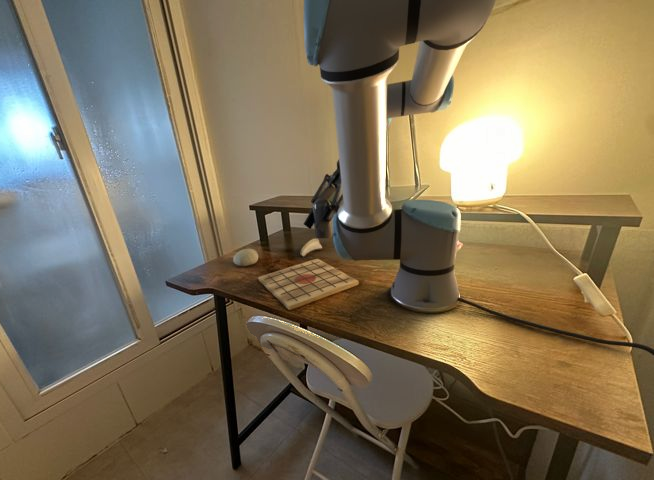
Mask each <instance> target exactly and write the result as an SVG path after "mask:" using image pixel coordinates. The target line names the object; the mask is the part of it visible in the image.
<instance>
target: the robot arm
mask: <svg viewBox="0 0 654 480" xmlns="http://www.w3.org/2000/svg"><path fill="white" fill-rule="evenodd" d="M496 1H497V0H303V41H304V50H305V54H306V59H307V63H308V65H310V66H313V67H318V66H319V72H320V77H321V78H320V79H321V81H322V82H323V83H325V84H326V85H327V86H329V87H330V88H331V91H332V102H333V111H334V121H335V131H336V140H337V141H336V142H337V151H338V160H337V162H336V169H335V171H333V172H332V174H329V173H326V174H325V175H324V177H323V180H322V182H321V184H320V185H319V187H318V189H317V190H316V192H315V194H314V195H313V196H312V198H311V200H310V202H311V203H312V204H313V205H314V203H315V201H316V200H318V199H320V198H324V199H327V200H328V201H329V199H330V198H331V196H332V195H333V194H334V196H333V198H332V200H331V202H330V204H331V205H328V206H329V207H330V208H331V209H330V208H328V207H327V209H326V210H325V212H324V214H323V215H322V217H321V219H320V220H319V222H318V224H317V226H316V227H315V228H317V229H318V230H319V231H320V232H322V233H323V232H324V230H325V228H326V227H327V225H328V223H329V222H330V221H331V220H332V232H333V235H332V240H333V246H334V249H335V251H336V255H338V257H339V258H340V259H342V260H345V261H355V262H357V261H358V262H359V261H399V267H398V270H397V273H396V275H395V278H394V280H393V283H392V284H391V289H390V298H391V300H392V301H393V302H394V303H395V304H396V305H397V306H399V307H401V308H403V309H405V310H409V311H412V312H417V313H423V314H439V313H443V312H444V313H445V312H447V311H450V310H453V309H454V308H456V307H457V306H458V305H459V302H461V303H464V304H466V305H469V306H471V307H474V308H476V309H478V310H480V311H483V312H486V313H488V314H491V315H494V316H497V317H499V318H502V319H505V320H509V321H512V322H516V323H519V324H523V325H526V326H530V327H535V328H536V329H537V328H538V329H542V330H545V331H548V332H553V333H556V334H559V335H564V336H568V337H572V338H577V339H580V340H585V341H588V342H594V343H598V344H603V345H608V346H618V347H628V348H635V349H640V350H643V351H646V352H648V353H650V354H651V355H652V356H654V348H652V347H650V346H648V345H645V344H641V343H638V342H629V341H619V340H609V339H603V338H598V337H595V336H589V335H585V334H581V333H580V334H579V333H576V332H572V331H569V330H564V329H559V328H557V327H556V328H555V327H551V326H547V325H544V324H539V323H535V322H532V321H528V320H526V319H522V318H517V317H515V316H511V315H508V314H505V313H502V312H498V311H495V310H493V309H490V308H487V307H485V306H483V305H480V304H477V303H475V302H473V301H470V300H468V299H464V298H462V297H461V294H460V288H459V285H458V280H457V277H456V273H455V266H456V259H457V252H458V251H457V245H458V241H459V237H460V232H461V230H462V228H461V219H462V215H461V211H460V209H459V208H458V207H457V206H455V205H454V204H451V203H448V202H445V201H441V200H435V199H434V200H433V199H412V200H410V199H409V200H407V201H404V202H403V203H402V204H401V208H396V209H395V208H393V205H392V203H391V202H390V200H388V198H386V171H387V170H386V167H387V162H386V161H387V130H388V129H389V127H390V125H391V122H392V120H393V118H399V117H406V116H414V115H421V114H428V113H436V112H439V111H444V110H447V109H448V108H449V107H450V106H451V103H452V101H453V97H454V90H455V89H454V87H455V78H454V75H453V74H454V72H455V70H456V68H457V66H458V64H459V62H460V59H461V58H462V55H463V53H464V51H465V49H466V48H467V46H468V44H469V43H470V42H471V41H472V40H473V39H475V38H476V36H478V35H479V34H480V32H481V31H482V29H483V28H484V27H485V25H486V22H487V21H488V19H489V17H490V15H491V13H492V11H493V9H494V7H495V4H496ZM415 43H418V46H417V50H416V51H417V52H416V56H415V63H414V67H413V72H412V75H411V76H412V77H411V79H410V80H404V81H398V82H393V83H388V76H389V75H390V74H391V73H392V71H393V70H394V69H395V68H396V67H397V65H398V64H399V59H400V47H403V46H408V45H411V44H415ZM303 225H304V226H305V227H306V228H308V229H309V230H311V229H313V226H314V216H313V207H312V208H311V209H310V211H309V213H308V215H307V216H306V218H305V220H304V222H303ZM315 228H314V229H315Z"/></svg>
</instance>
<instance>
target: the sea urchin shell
mask: <svg viewBox="0 0 654 480" xmlns="http://www.w3.org/2000/svg"><path fill="white" fill-rule="evenodd" d="M258 260H259V254H258V252H257V250H255V249H254V248H243V249H241V250H239V251H237V252H236V253H235V254H234V255H233V258H232V262H233V263H234V265H236V266H238V267H245V268H246V267H249V266H252V265H254V264H256V263H257V262H258Z"/></svg>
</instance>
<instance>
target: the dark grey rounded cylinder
mask: <svg viewBox="0 0 654 480" xmlns="http://www.w3.org/2000/svg"><path fill="white" fill-rule="evenodd" d="M328 205H331V202H330V201H329V199H328V200H327V199H324V198H320V199H318V200H316V201H315V203H314V204H313V205H312V208H313V216H314V224H313V226H314V237H315V239H328V238H332V237H333V232H332V222H333V219H332V220H331V221H330V222H329V223H328V225H327V227H326V228H325V230H324V232H323V233H322V232H320V231H319V230H318V229H317V228H315V227H316V226H317V224H318V222H319V220H320V219H321V217H322V215H323V214H324V212H325V210H326V209H327V207H328V208H330V207H329V206H328ZM330 209H331V208H330Z"/></svg>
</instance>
